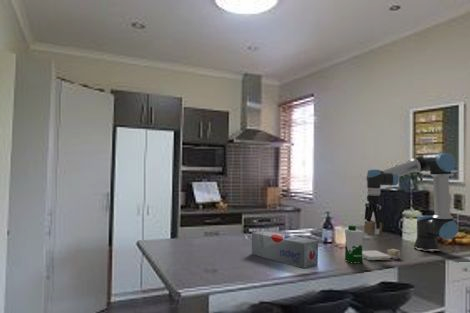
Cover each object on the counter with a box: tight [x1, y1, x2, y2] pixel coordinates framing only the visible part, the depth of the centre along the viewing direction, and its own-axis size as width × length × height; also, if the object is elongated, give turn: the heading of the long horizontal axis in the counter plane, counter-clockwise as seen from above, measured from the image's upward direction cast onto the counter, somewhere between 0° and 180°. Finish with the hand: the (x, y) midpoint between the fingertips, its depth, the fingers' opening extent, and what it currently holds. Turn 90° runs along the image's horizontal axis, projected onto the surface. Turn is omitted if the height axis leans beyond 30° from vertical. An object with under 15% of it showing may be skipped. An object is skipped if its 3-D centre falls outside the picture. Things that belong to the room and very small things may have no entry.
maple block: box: [386, 248, 401, 257], centre depth 216 cm, size 5×5×5 cm
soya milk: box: [344, 225, 365, 264], centre depth 206 cm, size 9×9×20 cm
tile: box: [362, 250, 391, 259], centre depth 216 cm, size 14×14×2 cm
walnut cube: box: [363, 220, 383, 236], centre depth 216 cm, size 7×7×7 cm
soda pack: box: [251, 230, 319, 269], centre depth 207 cm, size 41×13×14 cm, turn 41°
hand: (373, 232), depth 216 cm, fingers closed on walnut cube, 7 cm apart
